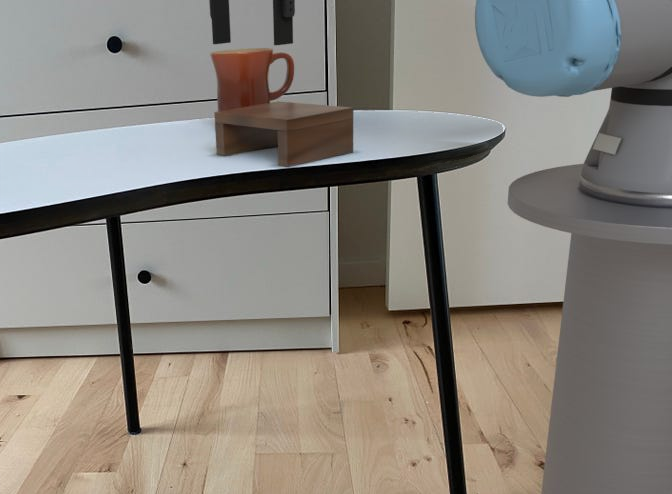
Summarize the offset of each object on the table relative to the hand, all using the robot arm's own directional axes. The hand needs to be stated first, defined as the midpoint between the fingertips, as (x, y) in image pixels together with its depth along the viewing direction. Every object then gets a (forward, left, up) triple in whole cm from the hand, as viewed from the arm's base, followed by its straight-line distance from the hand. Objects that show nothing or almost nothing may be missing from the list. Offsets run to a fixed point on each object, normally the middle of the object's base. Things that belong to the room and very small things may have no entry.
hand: (251, 44), depth 116 cm
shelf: (-21, +13, -11) cm, 27 cm away
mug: (0, 0, -11) cm, 11 cm away
